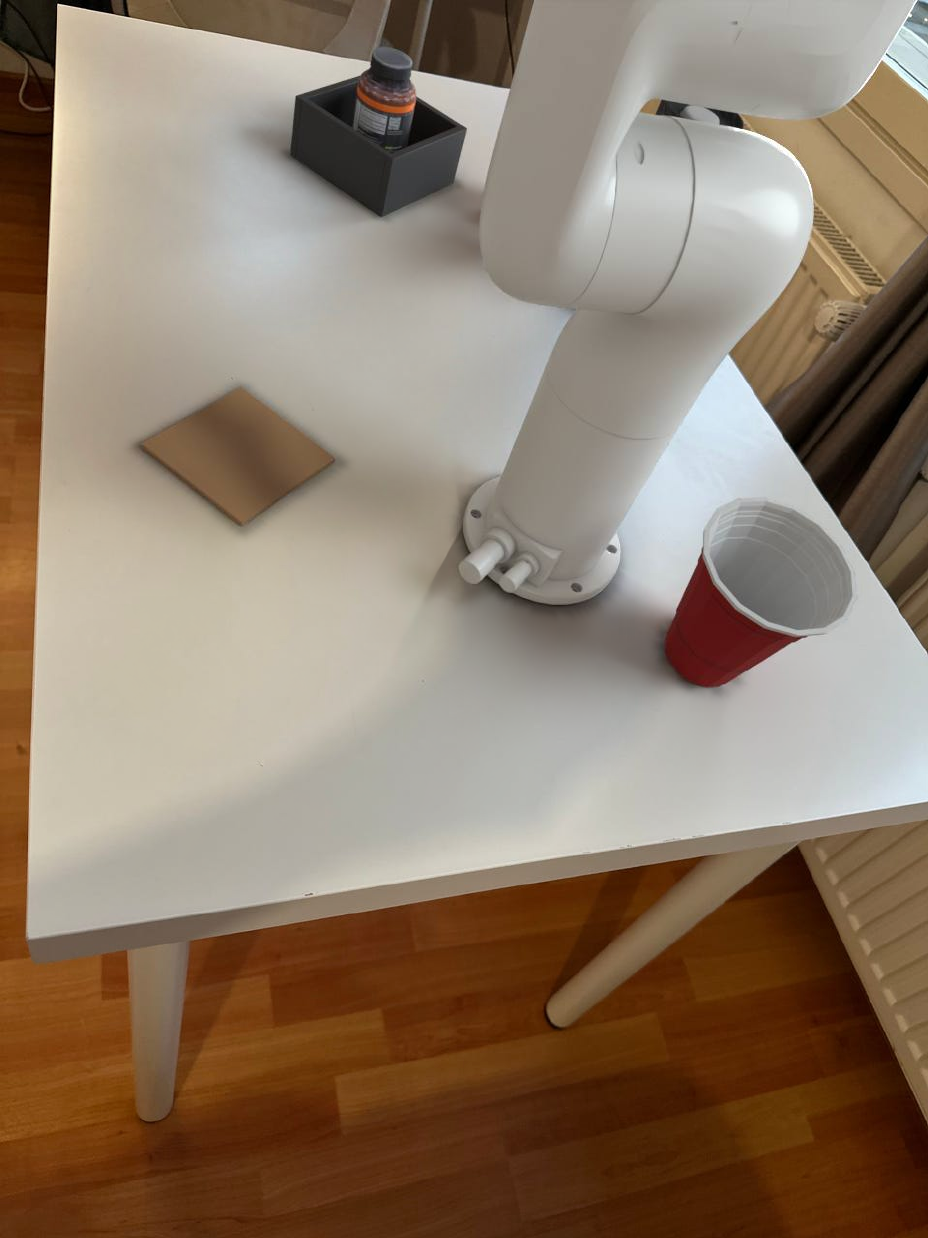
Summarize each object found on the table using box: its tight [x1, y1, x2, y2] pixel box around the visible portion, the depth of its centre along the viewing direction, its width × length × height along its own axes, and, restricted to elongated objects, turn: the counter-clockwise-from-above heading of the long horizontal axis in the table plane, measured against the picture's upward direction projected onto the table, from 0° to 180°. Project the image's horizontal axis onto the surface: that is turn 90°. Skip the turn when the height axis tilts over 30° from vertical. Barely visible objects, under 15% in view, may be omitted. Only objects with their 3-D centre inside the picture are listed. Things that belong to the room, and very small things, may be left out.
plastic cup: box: [664, 496, 858, 688], centre depth 61 cm, size 11×11×12 cm
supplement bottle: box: [352, 46, 417, 153], centre depth 89 cm, size 6×6×11 cm
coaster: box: [140, 386, 336, 527], centre depth 66 cm, size 10×10×1 cm
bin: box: [289, 75, 468, 218], centre depth 92 cm, size 13×13×6 cm
